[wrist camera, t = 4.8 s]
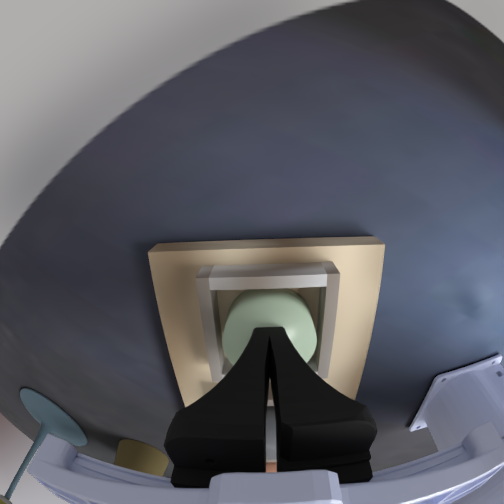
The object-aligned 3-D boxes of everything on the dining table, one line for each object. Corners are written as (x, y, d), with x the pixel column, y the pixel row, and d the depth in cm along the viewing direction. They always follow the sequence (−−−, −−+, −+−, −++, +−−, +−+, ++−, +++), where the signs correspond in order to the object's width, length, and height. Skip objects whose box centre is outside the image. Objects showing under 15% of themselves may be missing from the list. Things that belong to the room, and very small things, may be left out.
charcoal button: (305, 401, 15) (308, 425, 14) (300, 436, 17) (302, 457, 15) (234, 402, 16) (232, 427, 14) (240, 438, 17) (238, 459, 15)
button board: (374, 236, 14) (397, 254, 12) (327, 461, 22) (330, 483, 19) (157, 243, 15) (136, 262, 12) (212, 463, 23) (209, 486, 20)
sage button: (312, 282, 14) (319, 301, 12) (308, 352, 15) (312, 375, 13) (223, 285, 14) (217, 305, 12) (230, 354, 15) (227, 378, 13)
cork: (108, 437, 23) (77, 511, 12) (149, 440, 22) (121, 527, 11) (138, 464, 24) (116, 532, 14) (178, 466, 23) (161, 544, 13)
